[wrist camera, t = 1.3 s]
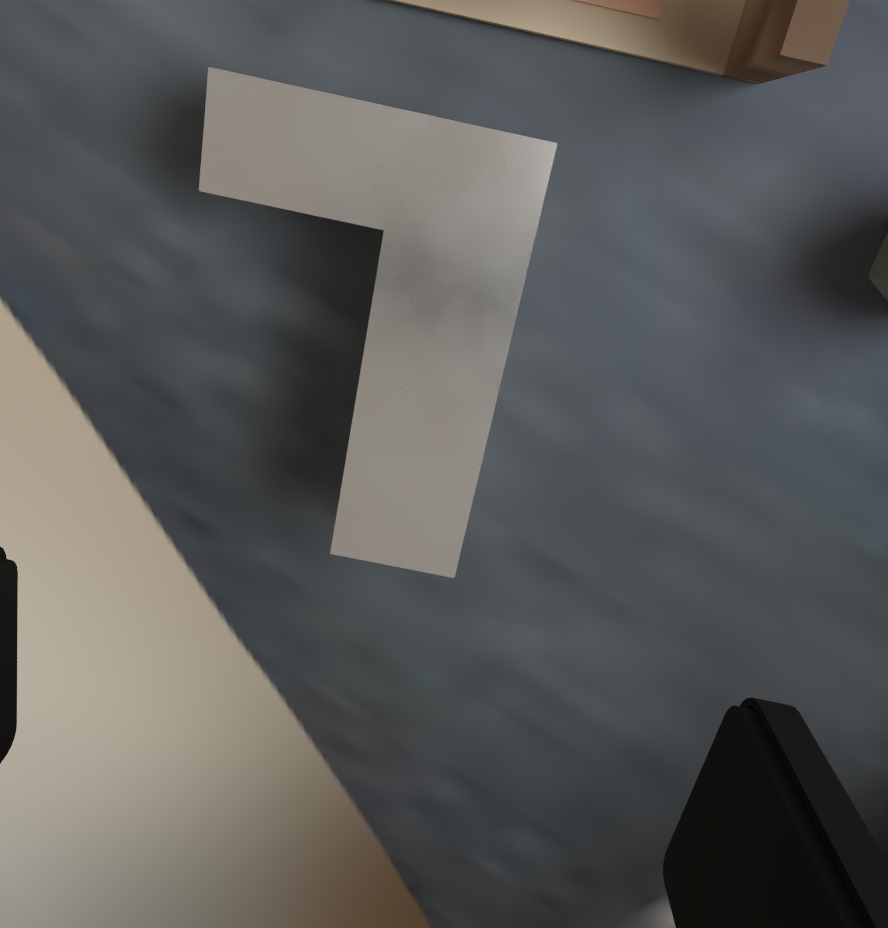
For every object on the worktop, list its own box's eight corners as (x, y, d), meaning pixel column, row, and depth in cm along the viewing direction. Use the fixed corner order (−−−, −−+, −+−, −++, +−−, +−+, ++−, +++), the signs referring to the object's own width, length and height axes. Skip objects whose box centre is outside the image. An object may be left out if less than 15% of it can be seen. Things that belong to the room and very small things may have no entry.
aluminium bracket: (457, 511, 29) (454, 577, 25) (221, 464, 29) (172, 523, 24) (541, 146, 24) (557, 143, 20) (259, 84, 24) (208, 66, 19)
